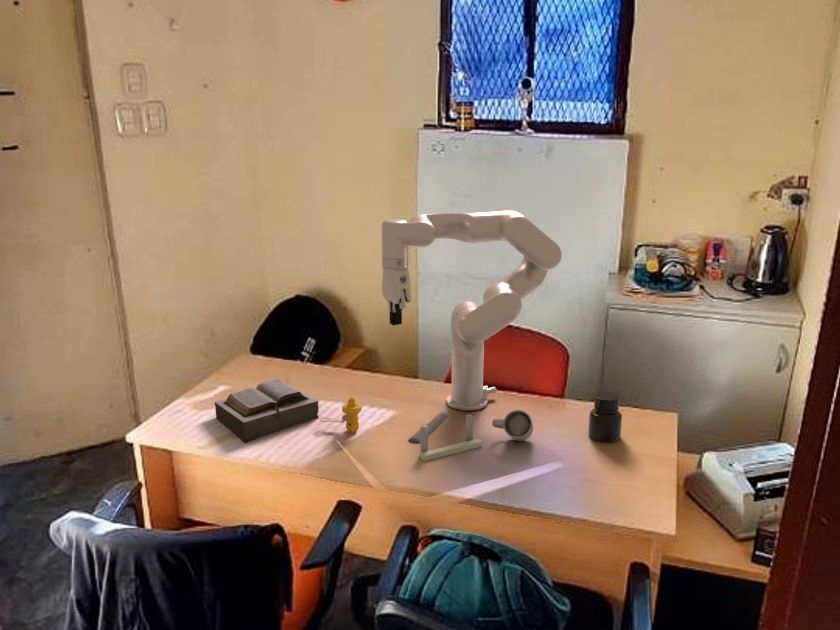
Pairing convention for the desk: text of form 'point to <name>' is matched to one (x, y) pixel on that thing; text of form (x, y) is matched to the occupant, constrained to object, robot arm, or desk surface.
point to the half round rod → (431, 426)
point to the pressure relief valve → (348, 415)
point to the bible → (265, 409)
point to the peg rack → (450, 449)
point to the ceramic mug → (516, 425)
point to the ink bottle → (605, 417)
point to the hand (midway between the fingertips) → (395, 323)
